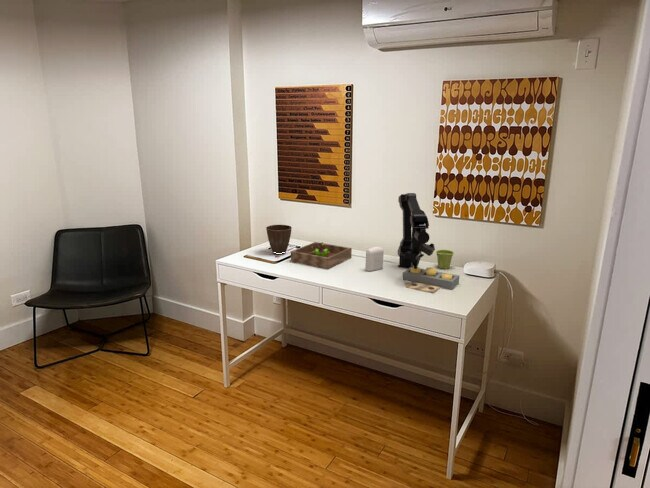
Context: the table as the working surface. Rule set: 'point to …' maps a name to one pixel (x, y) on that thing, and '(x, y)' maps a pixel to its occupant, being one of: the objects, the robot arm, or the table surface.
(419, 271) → the button
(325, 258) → the brown wooden tray
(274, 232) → the plant pot
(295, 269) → the table surface
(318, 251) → the plant
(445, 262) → the plant pot
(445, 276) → the button
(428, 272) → the button
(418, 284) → the card
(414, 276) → the board
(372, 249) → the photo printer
